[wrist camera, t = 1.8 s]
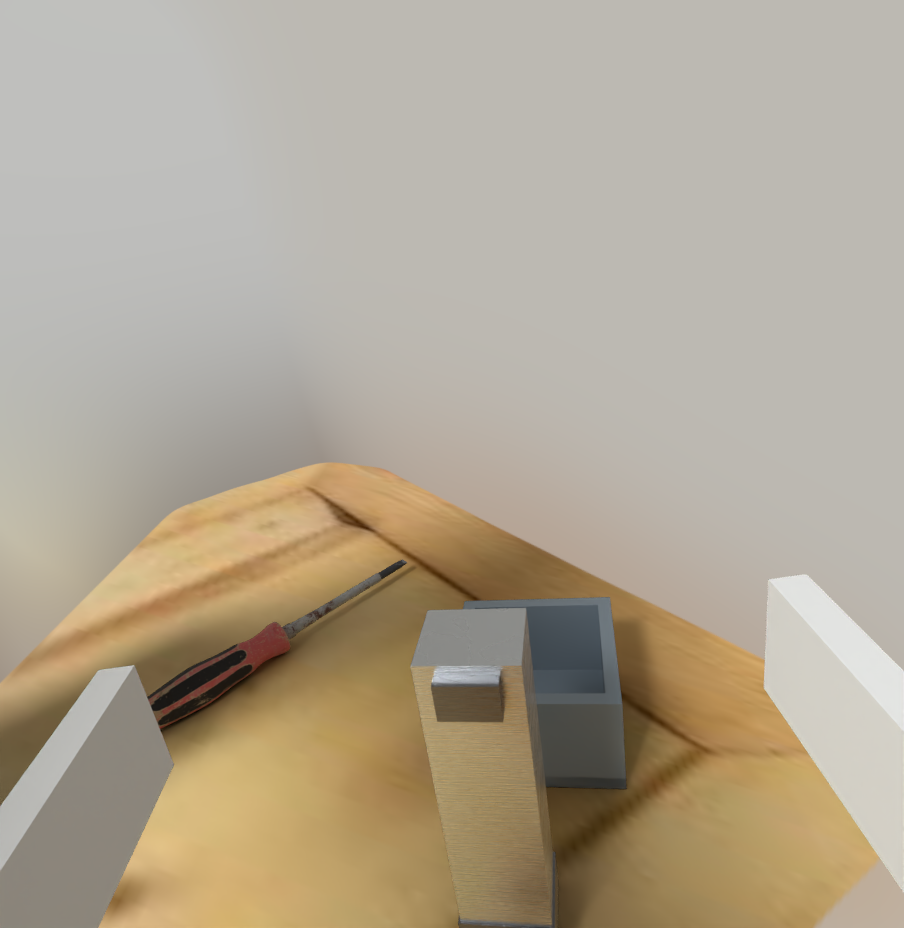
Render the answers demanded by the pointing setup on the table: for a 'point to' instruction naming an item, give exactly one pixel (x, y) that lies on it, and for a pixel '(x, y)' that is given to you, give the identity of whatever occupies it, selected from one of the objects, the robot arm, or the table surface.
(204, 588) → the table surface
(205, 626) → the table surface
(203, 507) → the table surface
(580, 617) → the caddy
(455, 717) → the brushed metal post
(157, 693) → the screwdriver
